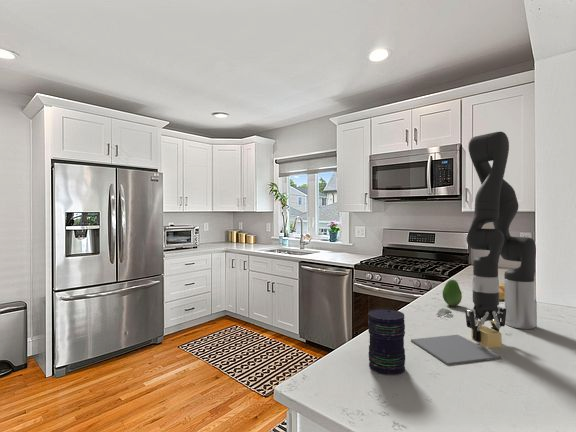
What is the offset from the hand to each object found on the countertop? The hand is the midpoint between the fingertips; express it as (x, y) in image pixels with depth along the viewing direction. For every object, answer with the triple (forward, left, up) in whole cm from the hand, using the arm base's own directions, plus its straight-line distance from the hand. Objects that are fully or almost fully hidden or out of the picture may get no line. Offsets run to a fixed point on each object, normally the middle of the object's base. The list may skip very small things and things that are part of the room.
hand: (486, 340), depth 108 cm
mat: (+14, +2, -1) cm, 14 cm away
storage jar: (+40, +8, -1) cm, 41 cm away
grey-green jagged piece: (-3, -27, -2) cm, 27 cm away
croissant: (-53, -48, -1) cm, 71 cm away
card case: (0, 0, -1) cm, 1 cm away
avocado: (-19, -40, -1) cm, 44 cm away
